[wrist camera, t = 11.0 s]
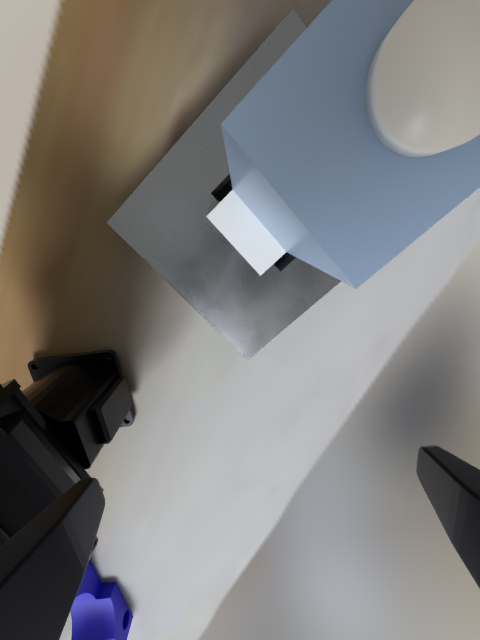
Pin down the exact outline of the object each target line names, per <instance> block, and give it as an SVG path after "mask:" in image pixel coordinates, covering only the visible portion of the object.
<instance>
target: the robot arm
mask: <svg viewBox="0 0 480 640" xmlns="http://www.w3.org/2000/svg"><path fill="white" fill-rule="evenodd" d="M107 355H109V356H110V357H111V359H109V358H107ZM35 364H36V365H37V366H38V367H37V366H36V365H35ZM28 368H29V371H30V373H31V376H32V378H33V381H34V383H33V384H31V385H30V386H29V387H27V388H26V389H25V390H23V391H21V390H20V389H19V388H20V387H21V386H20V385H19V384H18V383H17V381H16V380H15V379H13V380H10V381H8V382H6V383H4V384H2V385H1V384H0V640H59V638H60V636H61V633H62V631H63V628H64V626H65V623H66V620H67V618H68V615H69V613H70V610H71V608H72V605H73V602H74V600H75V597H76V595H77V592H78V590H79V587H80V584H81V582H82V579H83V576H84V574H85V571H86V567H87V564H88V561H89V559H90V558H91V556H92V554H93V552H94V550H95V548H96V545H97V542H98V537H97V536H96V534H97V531H98V528H99V524H100V521H101V518H102V514H103V511H104V507H105V498H104V495H103V489H102V487H101V486H100V484H99V482H98V480H97V479H96V478H91V477H90V476H89V474H88V473H87V472H86V471H85V469H88V468H90V466H91V465H92V463H93V462H94V460H95V458H96V457H97V455H98V454H99V452H100V450H101V449H102V447H103V446H104V444H109V443H110V442H111V440H112V439H113V437H114V436H115V434H116V432H117V430H118V429H119V427H125V426H131V425H132V424H133V422H134V420H135V417H134V413H133V410H132V405H133V403H132V399H131V396H130V392H129V389H128V385H127V382H126V378H125V377H124V376H123V375H122V372H121V368H120V365H119V361H118V358H117V355H116V353H115V352H114V351H112V350H103V351H94V352H86V353H77V354H69V355H60V356H52V357H43V358H36V359H33V360H32V361H30V362H29V363H28ZM126 418H128V419H129V420H126ZM417 475H418V478H419V480H420V482H421V484H422V486H423V488H424V490H425V492H426V494H427V496H428V498H429V500H430V502H431V504H432V506H433V508H434V510H435V511H436V514H437V516H438V518H439V520H440V522H441V524H442V526H443V527H444V529H445V531H446V533H447V535H448V537H449V539H450V541H451V543H452V544H453V546H454V547H455V549H456V551H457V553H458V554H459V556H460V558H461V559H462V561H463V562H464V564H465V565H466V567H467V569H468V570H469V572H470V574H471V575H472V577H473V579H474V580H475V582H476V583H477V585H478V587H479V588H480V470H479V469H477V468H476V467H474V466H472V465H470V464H468V463H467V462H465V461H463V460H462V459H460V458H458V457H456V456H455V455H453V454H451V453H449V452H448V451H446V450H444V449H442V448H441V447H439V446H436V445H428V446H421V447H420V448H419V449H418V458H417Z"/></svg>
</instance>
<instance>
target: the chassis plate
mask: <svg viewBox="0 0 480 640" xmlns="http://www.w3.org/2000/svg"><path fill="white" fill-rule="evenodd" d="M306 28H307V27H306V25H305V24H304V22H303V21H302V19H301V18H300V16H299V15H298V13H297V12H296V10H295V9H294V7H293V9H292V10H291V11H290V12H289V13H288V14H287V16H286V17H285V18H284V19H283V20H282V21H281V22H280V24H279V25H278V26H277V27H276V28H275V29H274V30H273V32H272V33H271V34H270V35H269V36H268V37H267V39H266V40H265V41H264V42H263V43H262V44H261V45H260V47H259V48H258V49H257V50H256V51H255V52H254V54H253V55H252V56H251V57H250V58H249V59H248V60H247V62H246V63H245V64H244V65H243V66H242V67H241V68H240V70H239V71H238V72H237V73H236V74H235V75H234V77H233V78H232V79H231V80H230V81H229V82H228V83H227V85H226V86H225V87H224V88H223V89H222V90H221V91H220V93H219V94H218V95H217V96H216V97H215V98H214V100H213V101H212V102H211V103H210V104H209V105H208V106H207V108H206V109H205V110H204V111H203V112H202V113H201V115H200V116H199V117H198V118H197V119H196V120H195V121H194V123H193V124H192V125H191V126H190V127H189V128H188V129H187V131H186V132H185V133H184V134H183V135H182V136H181V138H180V139H179V140H178V141H177V142H176V143H175V144H174V146H173V147H172V148H171V149H170V150H169V151H168V153H167V154H166V155H165V156H164V157H163V158H162V159H161V161H160V162H159V163H158V164H157V165H156V166H155V167H154V169H153V170H152V171H151V172H150V173H149V174H148V176H147V177H146V178H145V179H144V180H143V181H142V182H141V184H140V185H139V186H138V187H137V188H136V189H135V190H134V192H133V193H132V194H131V195H130V196H129V197H128V199H127V200H126V201H125V202H124V203H123V204H122V205H121V207H120V208H119V209H118V210H117V211H116V212H115V214H114V215H113V216H112V217H111V218H110V219H109V220H108V222H107V224H108V225H109V226H110V227H111V228H112V229H113V230H114V231H115V232H116V233H117V234H118V235H119V236H120V237H121V238H122V239H123V240H124V241H126V242H127V243H128V244H129V245H130V246H131V247H132V248H133V249H134V250H135V251H136V252H137V253H138V254H139V255H140V256H141V257H142V258H143V259H144V260H145V261H146V262H147V263H148V264H149V265H150V266H151V267H152V268H153V269H154V270H155V271H156V272H157V273H158V274H159V275H160V276H161V277H163V278H164V279H165V280H166V281H167V282H168V283H169V284H170V285H171V286H172V287H173V288H174V289H175V290H176V291H177V292H178V293H179V294H180V295H181V296H182V297H183V298H184V299H185V300H186V301H187V302H188V303H189V304H190V305H191V306H192V307H193V308H194V309H195V310H196V311H197V312H198V313H200V314H201V315H202V316H203V317H204V318H205V319H206V320H207V321H208V322H209V323H210V324H211V325H212V326H213V327H214V328H215V329H216V330H217V331H218V332H219V333H220V334H221V335H222V336H223V337H224V338H225V339H226V340H227V341H228V342H229V343H230V344H231V345H232V346H233V347H234V348H236V349H237V350H238V351H239V352H240V353H241V354H242V355H243V356H244V357H245V358H246V359H247V360H248V359H249V358H250V357H252V356H253V355H254V354H255V353H256V352H258V351H259V350H260V349H261V348H262V347H264V346H265V345H266V344H267V343H268V342H269V341H271V340H272V339H273V338H274V337H275V336H277V335H278V334H279V333H280V332H281V331H283V330H284V329H285V328H286V327H287V326H288V325H290V324H291V323H292V322H293V321H294V320H296V319H297V318H298V317H299V316H300V315H302V314H303V313H304V312H305V311H306V310H307V309H309V308H310V307H311V306H312V305H313V304H315V303H316V302H317V301H318V300H319V299H321V298H322V297H323V296H324V295H325V294H326V293H328V292H329V291H330V290H331V289H332V288H334V287H335V286H336V285H337V284H338V283H340V282H341V281H340V280H338V279H337V278H335V277H333V276H331V275H329V274H327V273H325V272H323V271H321V270H319V269H318V268H316V267H314V266H312V265H310V264H308V263H306V262H304V261H302V260H300V259H299V258H297V257H295V256H293V255H291V254H290V255H289V256H288V257H287V258H286V259H285V260H284V261H283V262H282V263H280V264H279V265H278V266H277V267H276V266H275V265H274V264H273V265H272V266H271V267H270V268H269V269H267V270H266V271H265V272H264V273H263V274H262V275H261V276H260V275H259V274H258V273H257V272H256V270H255V269H254V268H253V267H252V266H251V265H250V264H249V263H248V262H247V261H246V259H245V258H244V257H243V256H242V255H241V254H240V253H239V252H238V251H237V250H236V249H235V247H234V246H233V245H232V244H231V243H230V242H229V241H228V240H227V239H226V238H225V237H224V235H223V234H222V233H221V232H220V231H219V230H218V229H217V228H216V227H215V226H214V224H213V223H212V222H211V221H210V220H209V219H208V218H207V217H206V216H207V215H208V214H209V213H210V212H211V211H212V210H213V209H214V208H215V207H216V206H217V205H218V204H219V202H218V201H217V200H216V199H215V197H214V196H215V195H216V194H217V193H218V192H219V191H220V190H221V189H222V188H223V187H224V186H225V185H226V184H227V183H228V181H229V180H230V179H231V178H230V173H229V167H228V161H227V155H226V150H225V144H224V138H223V132H222V127H221V123H222V122H223V121H224V120H225V119H226V117H227V116H228V115H229V114H230V113H231V112H232V111H233V110H234V108H235V107H236V106H237V105H238V104H239V103H240V102H241V101H242V100H243V98H244V97H245V96H246V95H247V94H248V93H249V92H250V91H251V90H252V88H253V87H254V86H255V85H256V84H257V83H258V82H259V81H260V79H261V78H262V77H263V76H264V75H265V74H266V73H267V72H268V71H269V69H270V68H271V67H272V66H273V65H274V64H275V63H276V62H277V61H278V59H279V58H280V57H281V56H282V55H283V54H284V53H285V52H286V50H287V49H288V48H289V47H290V46H291V45H292V44H293V43H294V42H295V40H296V39H297V38H298V37H299V36H300V35H301V34H302V33H303V32H304V30H305V29H306Z"/></svg>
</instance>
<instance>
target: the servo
mask: <svg viewBox="0 0 480 640" xmlns="http://www.w3.org/2000/svg"><path fill="white" fill-rule="evenodd" d="M221 127H222V132H223V138H224V144H225V150H226V155H227V161H228V167H229V173H230V178H231V184H232V190H231V192H230V193H229V194H228V195H227V196H226V197H225V198H224V199H223V200H222V201H221V202H220V203H219V204H218V205H217V206H216V207H215V208H214V209H213V210H212V211H211V212H210V213H209V214H208V215H207V216H206V217H207V218H208V219H209V220H210V221H211V222H212V223H213V224H214V226H215V227H216V228H217V229H218V230H219V231H220V232H221V233H222V234H223V235H224V237H225V238H226V239H227V240H228V241H229V242H230V243H231V244H232V245H233V246H234V247H235V249H236V250H237V251H238V252H239V253H240V254H241V255H242V256H243V257H244V258H245V259H246V261H247V262H248V263H249V264H250V265H251V266H252V267H253V268H254V269H255V270H256V272H257V273H258V274H259V275H260V276H261V275H262V274H263V273H264V272H265V271H266V270H267V269H269V268H270V267H271V266H272V265H273V264H274V263H275V262H276V261H277V260H278V259H279V258H281V257H282V256H283V255H284V254H285V253H286V252H287V253H289V254H291V255H293V256H295V257H297V258H299V259H300V260H302V261H304V262H306V263H308V264H310V265H312V266H314V267H316V268H318V269H319V270H321V271H323V272H325V273H327V274H329V275H331V276H333V277H335V278H337V279H338V280H340V281H342V282H344V283H346V284H348V285H350V286H352V287H354V288H358V287H359V286H360V285H361V284H362V283H364V282H365V281H366V280H367V279H368V278H370V277H371V276H372V275H373V274H375V273H376V272H377V271H378V270H379V269H381V268H382V267H383V266H384V265H385V264H387V263H388V262H389V261H390V260H392V259H393V258H394V257H395V256H396V255H398V254H399V253H400V252H401V251H403V250H404V249H405V248H406V247H407V246H409V245H410V244H411V243H412V242H413V241H415V240H416V239H417V238H418V237H420V236H421V235H422V234H423V233H424V232H426V231H427V230H428V229H429V228H430V227H432V226H433V225H434V224H435V223H437V222H438V221H439V220H440V219H441V218H443V217H444V216H445V215H446V214H447V213H449V212H450V211H451V210H452V209H454V208H455V207H456V206H457V205H458V204H460V203H461V202H462V201H463V200H465V199H466V198H467V197H468V196H469V195H471V194H472V193H473V192H474V191H475V190H477V189H478V188H479V187H480V0H331V1H330V3H329V4H328V5H327V6H326V7H325V8H324V9H323V10H322V11H321V13H320V14H319V15H318V16H317V17H316V18H315V19H314V20H313V21H312V23H311V24H310V25H309V26H308V27H307V28H306V29H305V30H304V32H303V33H302V34H301V35H300V36H299V37H298V38H297V39H296V40H295V42H294V43H293V44H292V45H291V46H290V47H289V48H288V49H287V50H286V52H285V53H284V54H283V55H282V56H281V57H280V58H279V59H278V61H277V62H276V63H275V64H274V65H273V66H272V67H271V68H270V69H269V71H268V72H267V73H266V74H265V75H264V76H263V77H262V78H261V79H260V81H259V82H258V83H257V84H256V85H255V86H254V87H253V88H252V90H251V91H250V92H249V93H248V94H247V95H246V96H245V97H244V98H243V100H242V101H241V102H240V103H239V104H238V105H237V106H236V107H235V108H234V110H233V111H232V112H231V113H230V114H229V115H228V116H227V117H226V119H225V120H224V121H223V122H222V123H221Z"/></svg>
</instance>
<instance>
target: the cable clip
mask: <svg viewBox="0 0 480 640" xmlns="http://www.w3.org/2000/svg"><path fill="white" fill-rule="evenodd" d="M70 611H71V616H72V639H71V640H127V636H128V633H129V629H130V625H131V622H132V618H133V616H132V614H131V612H130V610H129V608H128V606H127V604H126V602H125V600H124V598H123V596H122V594H121V592H120V589H119V587H118V585H117V583H116V582H113V583H105V584H102V583H101V581H100V579H99V577H98V575H97V573H96V571H95V569H94V567H93V565H92V563H91V561H90V559H89V561H88V564H87V567H86V571H85V574H84V576H83V579H82V582H81V584H80V587H79V590H78V592H77V595H76V597H75V600H74V602H73V605H72V608H71V610H70Z"/></svg>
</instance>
